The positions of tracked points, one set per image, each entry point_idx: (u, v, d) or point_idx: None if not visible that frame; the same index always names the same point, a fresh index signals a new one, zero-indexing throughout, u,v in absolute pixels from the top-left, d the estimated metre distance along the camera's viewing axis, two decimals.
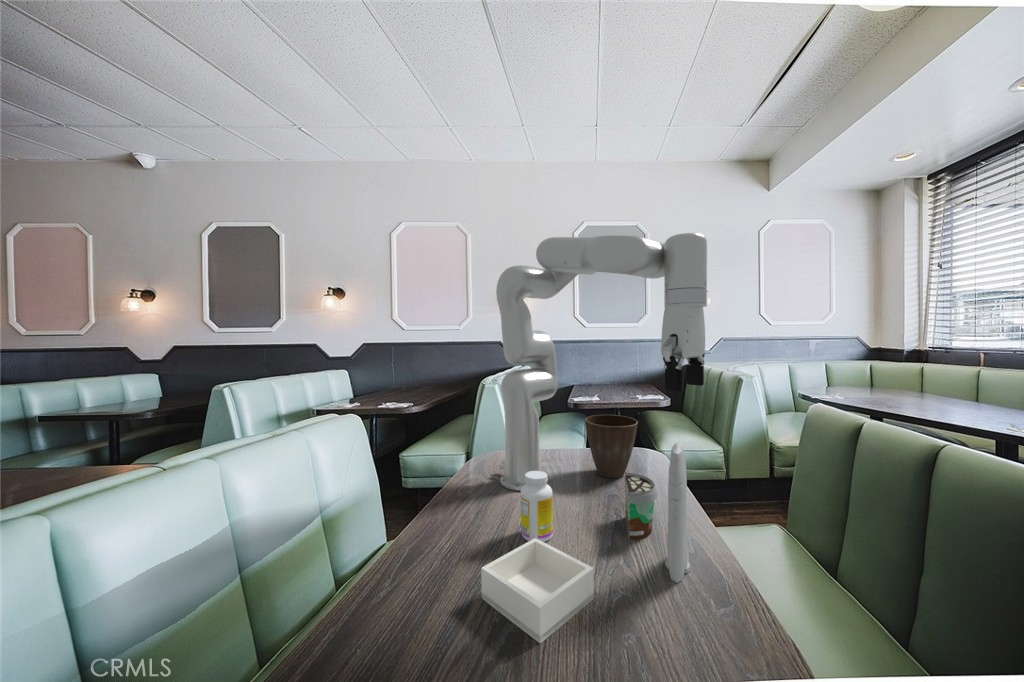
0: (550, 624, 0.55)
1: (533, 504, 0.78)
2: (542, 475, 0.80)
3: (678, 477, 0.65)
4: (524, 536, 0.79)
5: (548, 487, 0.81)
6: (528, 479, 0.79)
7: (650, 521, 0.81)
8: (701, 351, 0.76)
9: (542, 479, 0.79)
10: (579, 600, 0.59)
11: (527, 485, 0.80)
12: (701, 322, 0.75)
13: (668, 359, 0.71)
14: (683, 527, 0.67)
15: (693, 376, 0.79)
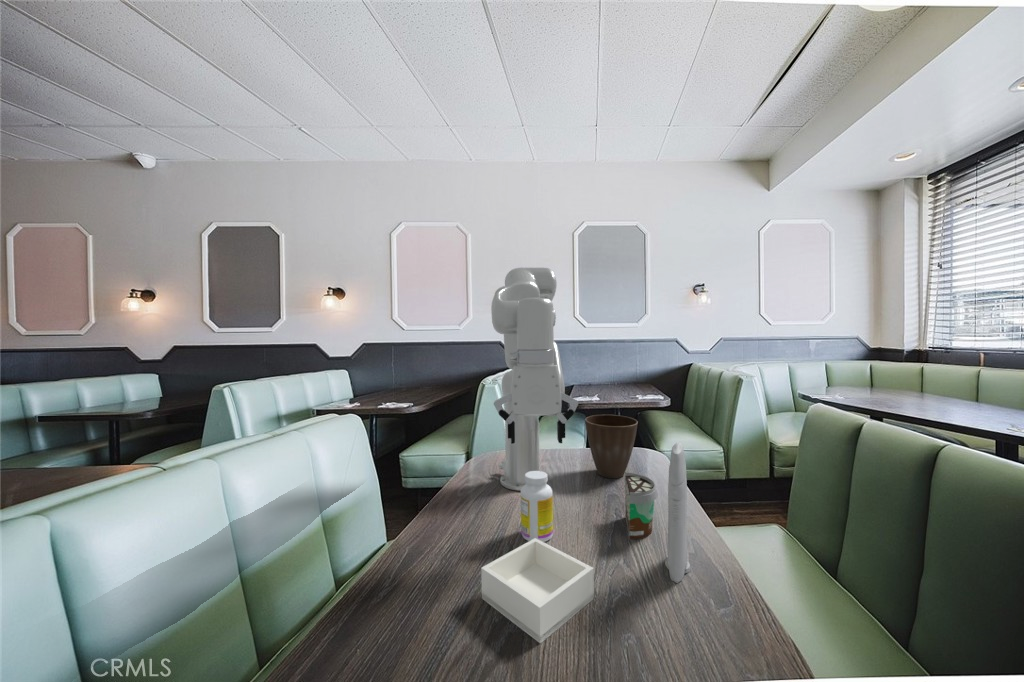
0: (550, 624, 0.55)
1: (533, 504, 0.78)
2: (542, 475, 0.80)
3: (678, 477, 0.65)
4: (524, 536, 0.79)
5: (548, 487, 0.81)
6: (528, 479, 0.79)
7: (650, 521, 0.81)
8: None
9: (542, 479, 0.79)
10: (579, 600, 0.59)
11: (527, 485, 0.80)
12: None
13: None
14: (683, 527, 0.67)
15: None
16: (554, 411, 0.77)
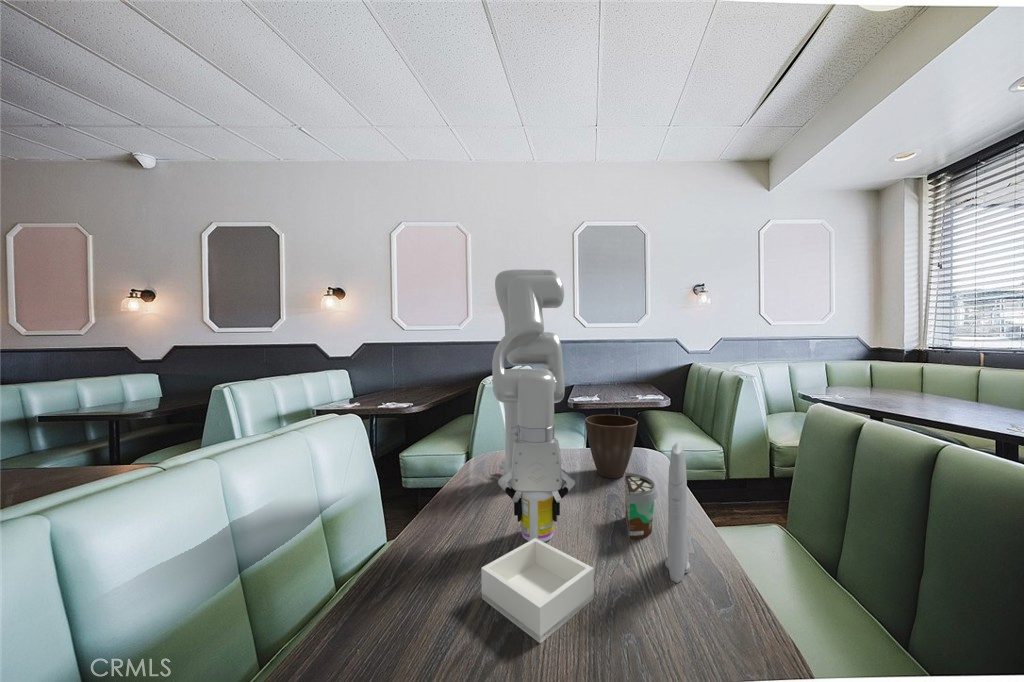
0: (550, 624, 0.55)
1: (533, 504, 0.78)
2: None
3: (678, 477, 0.65)
4: (524, 536, 0.79)
5: None
6: None
7: (650, 521, 0.81)
8: None
9: None
10: (579, 600, 0.59)
11: None
12: None
13: None
14: (683, 527, 0.67)
15: None
16: (554, 488, 0.78)
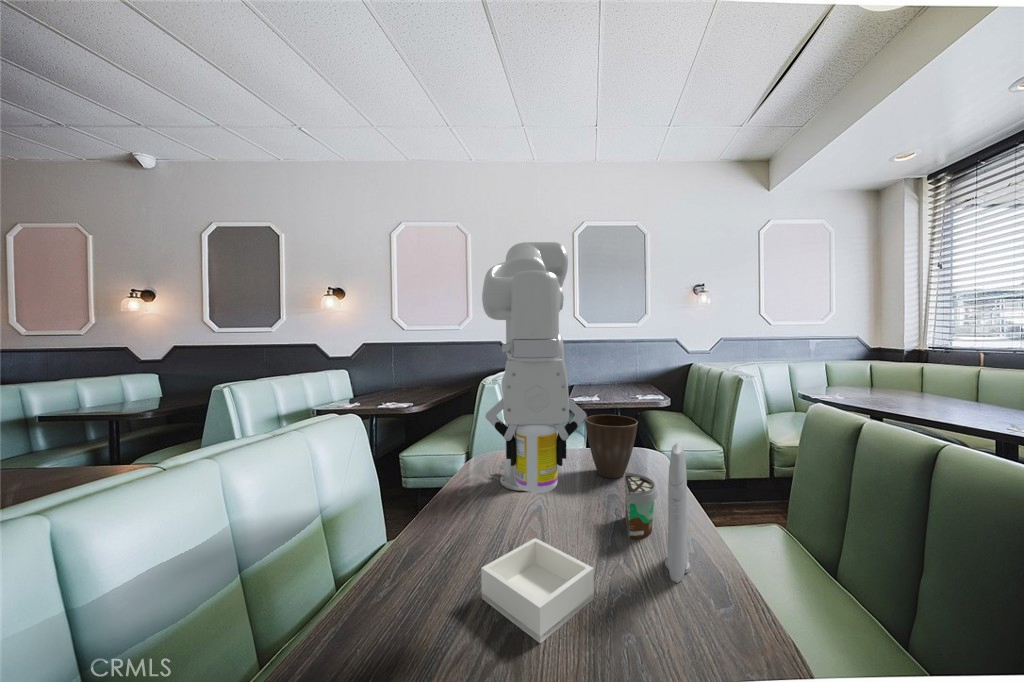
0: (550, 624, 0.55)
1: (531, 441, 0.59)
2: None
3: (678, 477, 0.65)
4: (519, 484, 0.60)
5: None
6: None
7: (650, 521, 0.81)
8: None
9: None
10: (579, 600, 0.59)
11: None
12: None
13: None
14: (683, 527, 0.67)
15: None
16: (559, 420, 0.59)
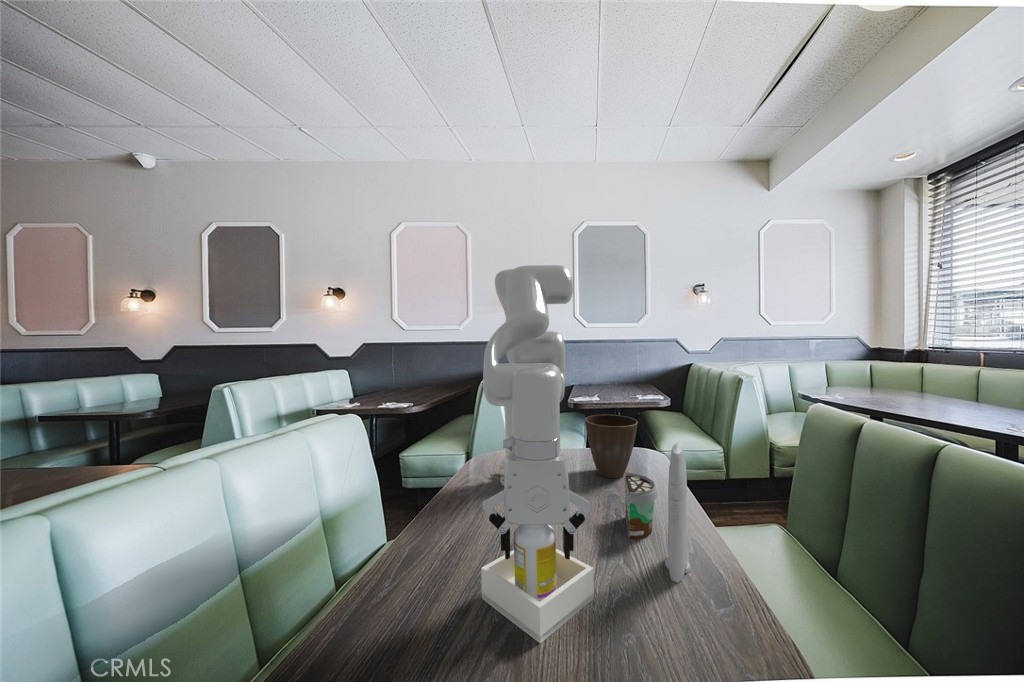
0: (550, 624, 0.55)
1: (530, 554, 0.59)
2: None
3: (678, 477, 0.65)
4: None
5: (550, 529, 0.62)
6: None
7: (650, 521, 0.81)
8: None
9: None
10: (579, 600, 0.59)
11: (522, 527, 0.61)
12: None
13: None
14: (683, 527, 0.67)
15: None
16: (560, 520, 0.59)
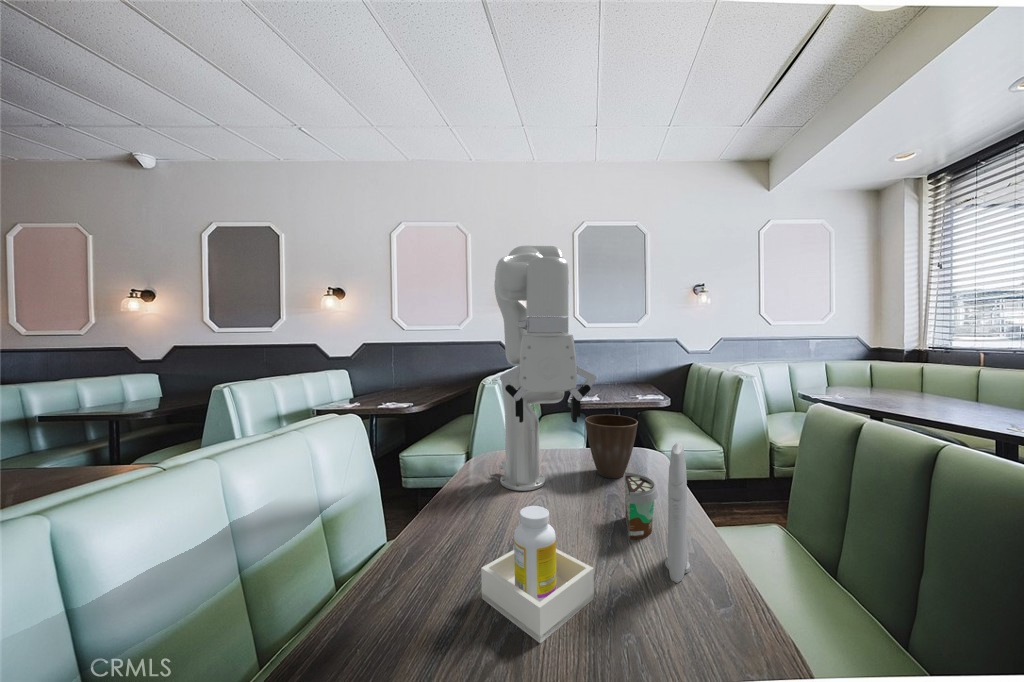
0: (550, 624, 0.55)
1: (530, 553, 0.59)
2: (542, 513, 0.62)
3: (678, 477, 0.65)
4: None
5: (550, 528, 0.62)
6: (525, 519, 0.60)
7: (650, 521, 0.81)
8: None
9: (542, 519, 0.60)
10: (579, 600, 0.59)
11: (523, 527, 0.61)
12: None
13: None
14: (683, 527, 0.67)
15: None
16: (568, 386, 0.68)
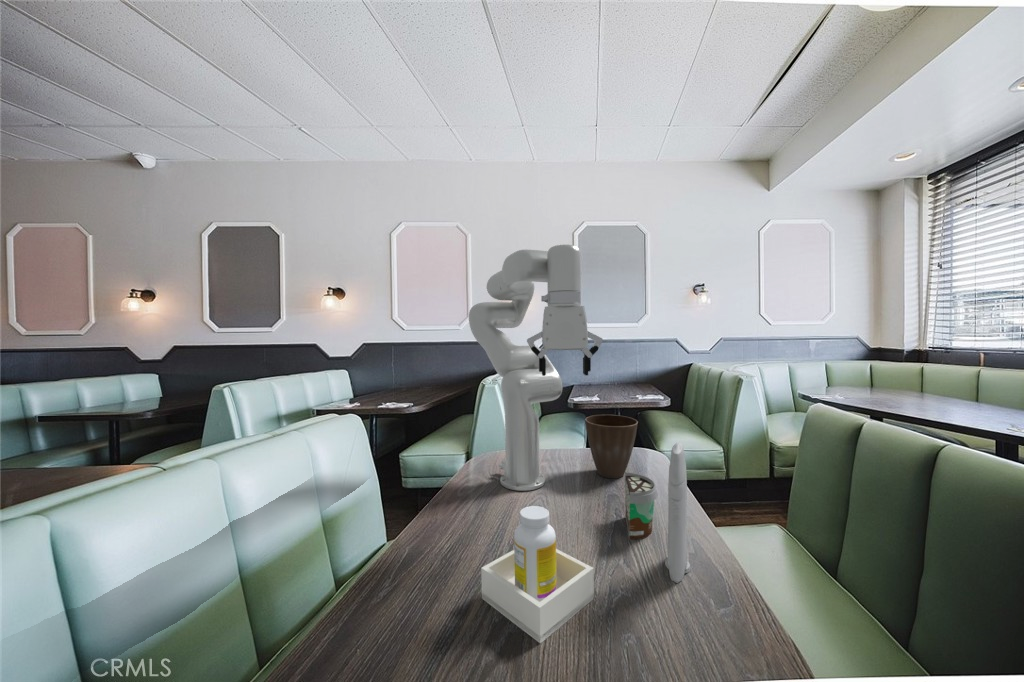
0: (550, 624, 0.55)
1: (530, 554, 0.59)
2: (542, 513, 0.62)
3: (678, 477, 0.65)
4: None
5: (550, 529, 0.62)
6: (525, 519, 0.60)
7: (650, 521, 0.81)
8: None
9: (543, 519, 0.60)
10: (579, 600, 0.59)
11: (523, 527, 0.61)
12: None
13: (597, 348, 0.90)
14: (683, 527, 0.67)
15: None
16: (581, 346, 0.87)
